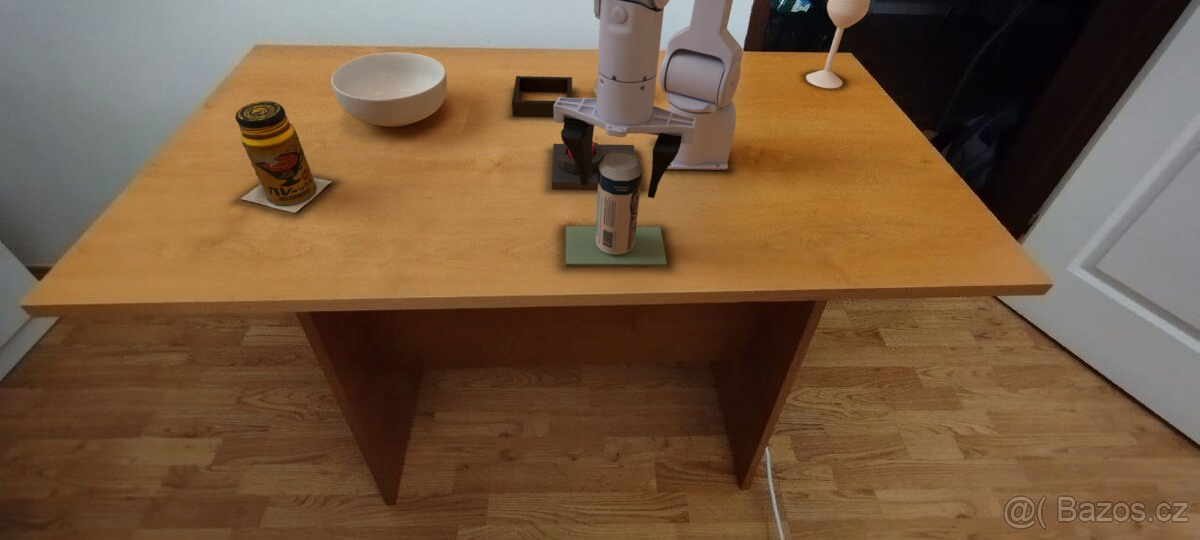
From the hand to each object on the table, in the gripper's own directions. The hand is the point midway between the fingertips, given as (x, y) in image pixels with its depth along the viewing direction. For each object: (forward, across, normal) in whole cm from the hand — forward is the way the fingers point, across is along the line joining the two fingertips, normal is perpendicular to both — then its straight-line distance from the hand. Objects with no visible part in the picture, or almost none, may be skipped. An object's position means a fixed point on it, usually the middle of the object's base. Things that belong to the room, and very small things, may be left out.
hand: (619, 186), depth 65 cm
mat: (+9, 0, 0) cm, 9 cm away
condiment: (+9, -44, -2) cm, 45 cm away
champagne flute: (+9, +26, +58) cm, 64 cm away
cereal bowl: (+9, -41, +21) cm, 47 cm away
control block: (+9, -7, +16) cm, 19 cm away
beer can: (+9, 0, 0) cm, 9 cm away
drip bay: (+9, -20, +32) cm, 39 cm away
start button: (+6, -9, +15) cm, 18 cm away
